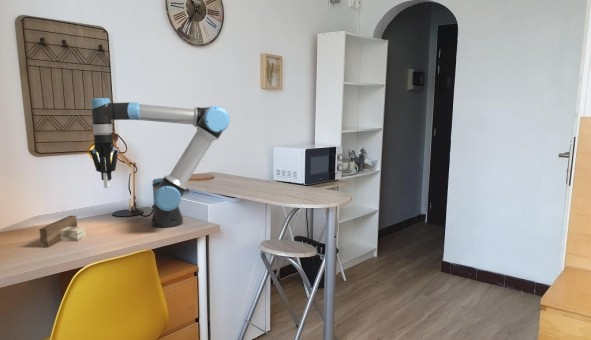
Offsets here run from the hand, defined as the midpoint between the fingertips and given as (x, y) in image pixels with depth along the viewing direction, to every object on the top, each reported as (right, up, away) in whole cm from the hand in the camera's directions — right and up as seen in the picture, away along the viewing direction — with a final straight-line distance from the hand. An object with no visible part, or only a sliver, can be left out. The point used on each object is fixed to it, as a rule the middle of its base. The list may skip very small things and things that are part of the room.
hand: (107, 187), depth 191 cm
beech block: (-15, -23, 0) cm, 27 cm away
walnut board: (-20, -23, -1) cm, 31 cm away
